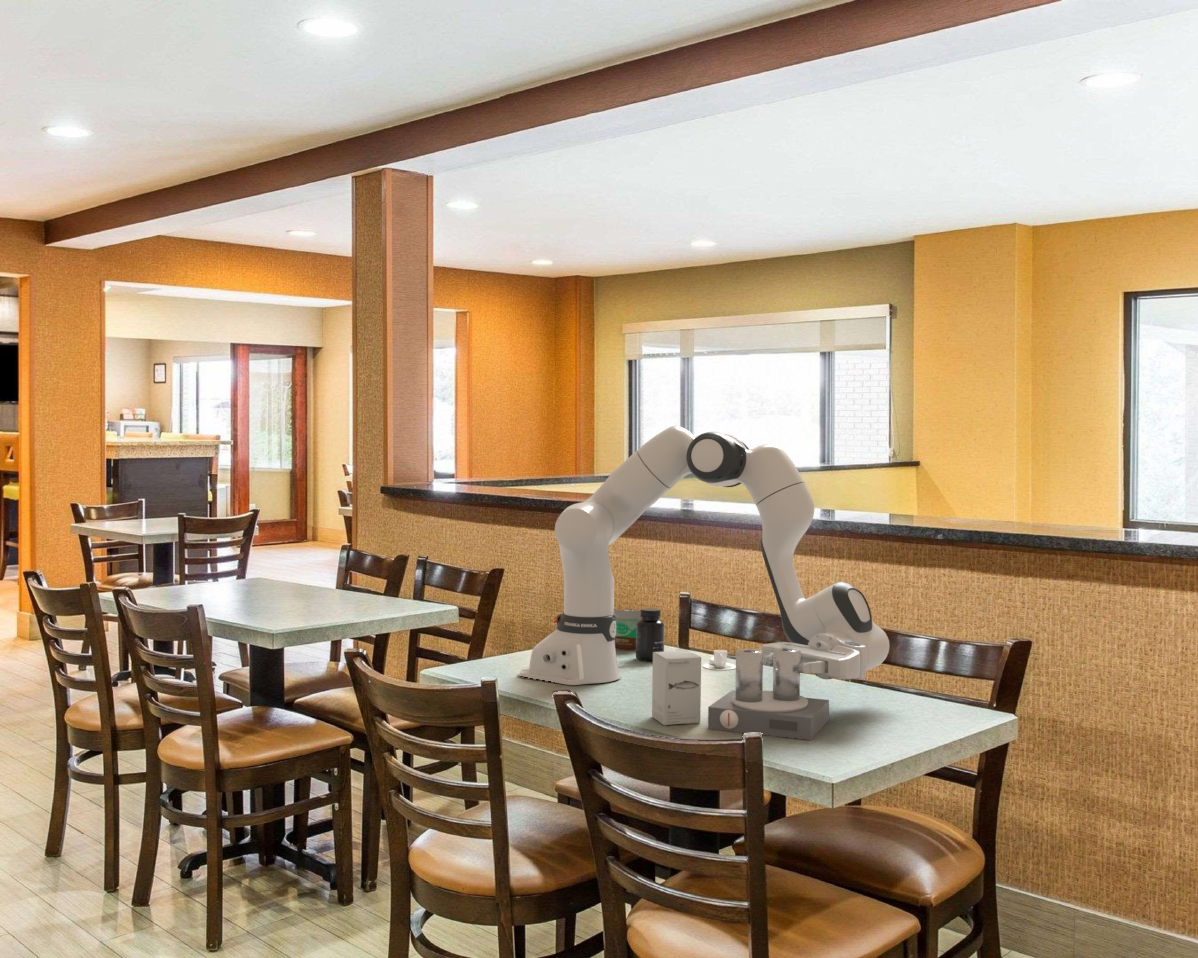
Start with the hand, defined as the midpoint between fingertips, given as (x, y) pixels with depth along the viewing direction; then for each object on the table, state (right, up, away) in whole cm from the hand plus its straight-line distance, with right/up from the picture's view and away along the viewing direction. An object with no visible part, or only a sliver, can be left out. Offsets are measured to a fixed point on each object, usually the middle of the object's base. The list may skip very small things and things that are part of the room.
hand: (783, 664), depth 211 cm
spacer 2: (+1, -6, +1) cm, 6 cm away
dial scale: (-3, -11, 0) cm, 11 cm away
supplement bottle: (-22, -9, +61) cm, 65 cm away
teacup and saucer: (-4, -10, +54) cm, 55 cm away
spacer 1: (-7, -6, 0) cm, 9 cm away
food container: (-27, -8, +74) cm, 79 cm away
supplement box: (-20, -11, +3) cm, 23 cm away
